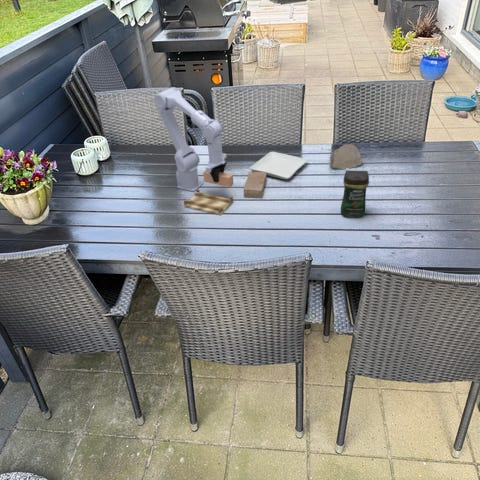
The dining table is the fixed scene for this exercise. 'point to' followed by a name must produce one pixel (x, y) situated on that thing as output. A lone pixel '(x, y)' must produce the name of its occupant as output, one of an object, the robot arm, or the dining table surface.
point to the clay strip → (223, 179)
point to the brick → (255, 185)
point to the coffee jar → (354, 193)
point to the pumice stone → (346, 157)
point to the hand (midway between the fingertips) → (218, 179)
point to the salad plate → (279, 165)
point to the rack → (208, 203)
